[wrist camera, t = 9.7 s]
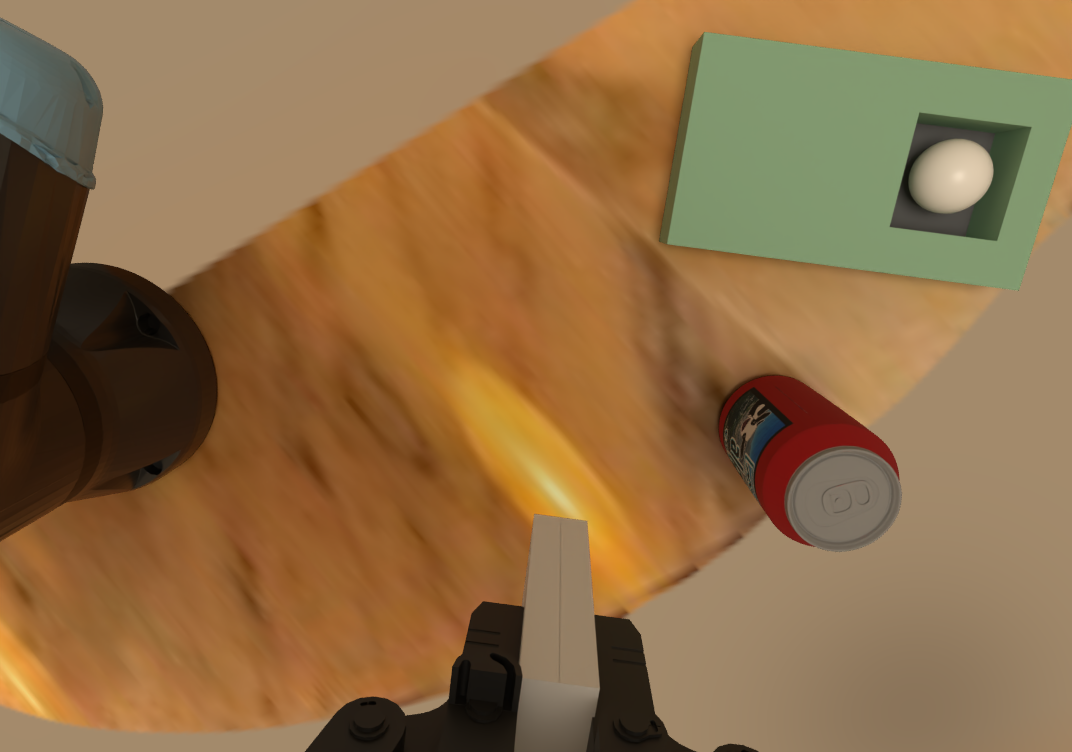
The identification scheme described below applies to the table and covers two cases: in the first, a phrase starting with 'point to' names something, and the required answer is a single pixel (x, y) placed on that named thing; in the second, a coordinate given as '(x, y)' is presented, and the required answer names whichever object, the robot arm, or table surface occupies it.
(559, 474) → the table surface
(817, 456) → the beverage can
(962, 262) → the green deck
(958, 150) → the ball
